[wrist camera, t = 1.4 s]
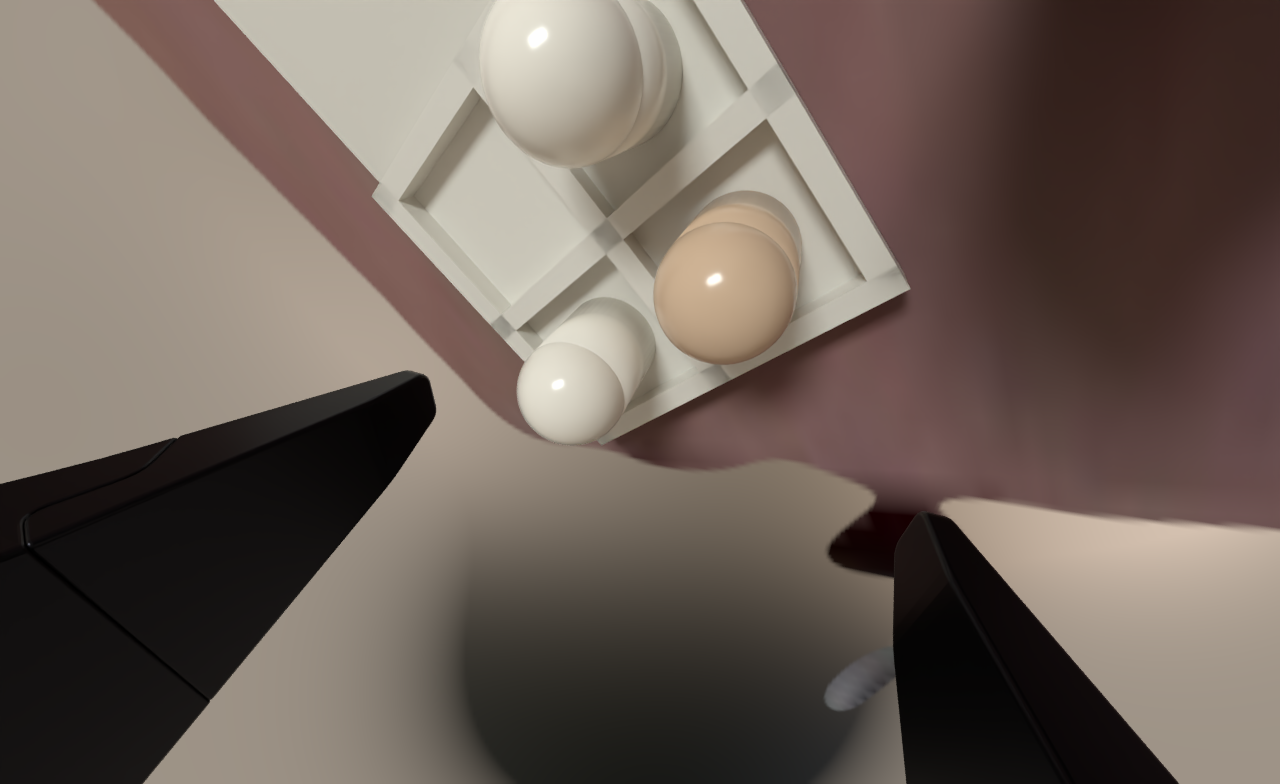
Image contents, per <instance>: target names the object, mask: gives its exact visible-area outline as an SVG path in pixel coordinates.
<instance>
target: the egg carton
mask: <svg viewBox="0 0 1280 784" xmlns="http://www.w3.org/2000/svg"><path fill="white" fill-rule="evenodd" d="M214 1H215V2H216V3H217V4H218V5H219V7H220V8H221V9H222V10H223V11H224V12H225V13H226V14H227V15H228V16H229V18H230V19H231V20H232V21H233V22H234V23H235V24H236V25H237V26H238V27H239V29H240V30H241V31H242V32H243V33H244V34H245V35H246V36H247V37H248V38H249V40H250V41H251V42H252V43H253V44H254V45H255V46H256V47H257V48H258V49H259V51H260V52H261V53H262V54H263V55H264V56H265V57H266V58H267V59H268V60H269V61H270V63H271V64H272V65H273V66H274V67H275V68H276V69H277V70H278V71H279V72H280V74H281V75H282V76H283V77H284V78H285V79H286V80H287V81H288V82H289V83H290V85H291V86H292V87H293V88H294V89H295V90H296V91H297V92H298V93H299V94H300V96H301V97H302V98H303V99H304V100H305V101H306V102H307V103H308V104H309V105H310V107H311V108H312V109H313V110H314V111H315V112H316V113H317V114H318V115H319V116H320V118H321V119H322V120H323V121H324V122H325V123H326V124H327V125H328V126H329V127H330V129H331V130H332V131H333V132H334V133H335V134H336V135H337V136H338V137H339V138H340V140H341V141H342V142H343V143H344V144H345V145H346V146H347V147H348V148H349V149H350V150H351V152H352V153H353V154H354V155H355V156H356V157H357V158H358V159H359V160H360V161H361V163H362V164H363V165H364V166H365V167H366V168H367V169H368V170H369V171H370V172H371V174H372V175H373V176H374V177H375V178H376V179H377V180H378V181H379V182H380V183H379V185H378V187H377V188H376V190H375V191H374V193H373V195H372V197H373V198H374V200H375V201H376V202H377V203H378V204H379V205H380V206H381V207H382V208H383V209H384V210H385V211H386V213H387V214H388V215H389V216H390V217H391V218H392V219H393V220H394V221H395V222H396V223H397V224H398V226H399V227H400V228H401V229H402V230H403V231H404V232H405V233H406V234H407V235H408V236H409V237H410V238H411V240H412V241H413V242H414V243H415V244H416V245H417V246H418V247H419V248H420V249H421V250H422V251H423V253H424V254H425V255H426V256H427V257H428V258H429V259H430V260H431V261H432V262H433V263H434V264H435V266H436V267H437V268H438V269H439V270H440V271H441V272H442V273H443V274H444V275H445V276H446V277H447V279H448V280H449V281H450V282H451V283H452V284H453V285H454V286H455V287H456V288H457V289H458V290H459V291H460V293H461V294H462V295H463V296H464V297H465V298H466V299H467V300H468V301H469V302H470V303H471V304H472V306H473V307H474V308H475V309H476V310H477V311H478V312H479V313H480V314H481V315H482V316H483V317H484V319H485V320H486V321H487V322H488V323H489V324H490V325H491V326H492V327H493V328H494V329H495V330H496V332H497V333H498V334H499V335H500V336H501V337H502V338H503V339H504V340H505V341H506V342H507V343H508V345H509V346H510V347H511V348H512V349H513V350H514V351H515V352H516V353H517V354H518V355H519V356H520V357H521V359H522V360H523V361H524V362H525V361H526V360H527V358H528V357H529V356H530V355H531V354H532V353H533V351H534V350H535V349H536V348H537V347H538V346H539V345H541V344H542V343H543V342H544V341H545V340H546V339H547V338H548V337H549V336H550V335H551V334H552V333H553V332H554V331H555V330H556V329H557V328H558V327H559V326H560V325H561V324H562V323H563V322H564V321H565V320H566V319H567V318H568V317H569V316H570V315H571V314H572V313H573V312H574V311H575V310H576V309H577V308H578V307H579V306H580V305H581V304H583V303H584V302H586V301H588V300H590V299H593V298H598V297H610V298H615V299H619V300H621V301H624V302H626V303H628V304H630V305H631V306H633V307H634V308H635V309H637V310H638V311H639V312H640V313H641V314H642V315H643V316H644V317H645V319H646V320H647V321H648V323H649V325H650V326H651V328H652V331H653V333H654V337H655V342H656V351H655V356H654V359H653V361H652V363H651V365H650V367H649V369H648V370H647V372H646V374H645V376H644V377H643V379H642V381H641V383H640V384H639V386H638V388H637V390H636V391H635V393H634V395H633V397H632V398H631V400H630V402H629V404H628V405H627V407H626V409H625V411H624V412H623V414H622V416H621V418H620V419H619V421H618V422H617V423H616V425H615V426H614V427H613V428H612V429H611V430H610V431H609V432H608V433H607V434H605V435H604V436H602V437H601V438H599V439H597V441H598V442H599V443H600V444H601V445H603V444H605V443H607V442H609V441H611V440H613V439H615V438H617V437H619V436H621V435H623V434H625V433H627V432H629V431H631V430H633V429H635V428H637V427H639V426H641V425H643V424H645V423H647V422H649V421H651V420H653V419H655V418H657V417H659V416H661V415H663V414H665V413H667V412H668V411H670V410H672V409H674V408H676V407H678V406H680V405H682V404H684V403H686V402H688V401H690V400H692V399H694V398H696V397H698V396H700V395H702V394H704V393H706V392H708V391H710V390H712V389H714V388H716V387H718V386H720V385H722V384H724V383H726V382H728V381H730V380H732V379H734V378H736V377H738V376H740V375H742V374H744V373H745V372H747V371H749V370H751V369H753V368H755V367H757V366H759V365H761V364H763V363H765V362H767V361H769V360H771V359H773V358H775V357H777V356H779V355H781V354H783V353H785V352H787V351H789V350H791V349H793V348H795V347H797V346H799V345H801V344H803V343H805V342H807V341H809V340H811V339H813V338H815V337H817V336H819V335H821V334H822V333H824V332H826V331H828V330H830V329H832V328H834V327H836V326H838V325H840V324H842V323H844V322H846V321H848V320H850V319H852V318H854V317H856V316H858V315H860V314H862V313H864V312H866V311H868V310H870V309H872V308H874V307H876V306H878V305H880V304H882V303H884V302H886V301H888V300H890V299H892V298H894V297H896V296H898V295H900V294H901V293H903V292H905V291H907V290H909V289H910V286H909V284H908V282H907V279H906V277H905V274H904V272H903V270H902V269H901V267H900V265H899V264H898V262H897V260H896V258H895V257H894V255H893V253H892V252H891V250H890V248H889V247H888V245H887V243H886V241H885V240H884V238H883V236H882V235H881V233H880V231H879V230H878V228H877V226H876V224H875V223H874V221H873V219H872V218H871V216H870V214H869V213H868V211H867V209H866V207H865V206H864V204H863V202H862V201H861V199H860V197H859V195H858V194H857V192H856V190H855V189H854V187H853V185H852V184H851V182H850V180H849V178H848V177H847V175H846V173H845V172H844V170H843V168H842V167H841V165H840V163H839V161H838V160H837V158H836V156H835V155H834V153H833V151H832V150H831V148H830V146H829V144H828V143H827V141H826V139H825V138H824V136H823V134H822V133H821V131H820V129H819V127H818V126H817V124H816V122H815V121H814V119H813V117H812V115H811V114H810V112H809V110H808V109H807V107H806V105H805V104H804V102H803V100H802V98H801V97H800V95H799V93H798V92H797V90H796V88H795V87H794V85H793V83H792V81H791V80H790V78H789V76H788V75H787V73H786V71H785V70H784V68H783V66H782V64H781V63H780V61H779V59H778V58H777V56H776V54H775V53H774V51H773V49H772V47H771V46H770V44H769V42H768V41H767V39H766V37H765V35H764V34H763V32H762V30H761V29H760V27H759V25H758V24H757V22H756V20H755V18H754V17H753V15H752V13H751V12H750V10H749V8H748V7H747V5H746V3H745V1H744V0H648V1H650V2H651V3H653V4H654V5H655V6H656V7H657V8H658V9H659V10H660V11H661V12H662V13H663V14H664V16H665V17H666V18H667V20H668V21H669V23H670V25H671V26H672V28H673V30H674V33H675V35H676V37H677V40H678V44H679V47H680V52H681V57H682V67H683V76H682V86H681V92H680V96H679V100H678V103H677V106H676V108H675V110H674V112H673V115H672V117H671V118H670V120H669V121H668V123H667V124H666V125H665V127H664V128H663V129H662V130H661V131H660V132H659V133H658V134H657V135H656V136H655V137H653V138H652V139H650V140H649V141H647V142H645V143H643V144H641V145H639V146H636V147H634V148H632V149H629V150H627V151H625V152H622V153H620V154H618V155H615V156H613V157H611V158H608V159H606V160H604V161H601V162H599V163H596V164H593V165H590V166H587V167H582V168H559V167H553V166H550V165H547V164H544V163H542V162H540V161H538V160H535V159H533V158H531V157H530V156H528V155H527V154H525V153H524V152H523V151H521V150H520V149H519V148H518V147H517V146H516V145H515V144H513V142H512V141H511V140H510V139H509V138H508V137H507V136H506V135H505V134H504V132H503V131H502V130H501V128H500V127H499V125H498V124H497V122H496V120H495V119H494V117H493V115H492V113H491V111H490V109H489V106H488V104H487V101H486V98H485V95H484V91H483V88H482V83H481V78H480V70H479V47H480V39H481V34H482V29H483V26H484V23H485V20H486V18H487V15H488V13H489V11H490V9H491V7H492V5H493V4H494V2H495V1H496V0H214ZM742 190H750V191H757V192H761V193H765V194H767V195H770V196H772V197H774V198H775V199H777V200H778V201H780V202H781V203H782V204H783V205H785V206H786V207H787V208H788V210H789V211H790V212H791V213H792V215H793V216H794V218H795V220H796V222H797V224H798V226H799V229H800V233H801V238H802V254H801V264H800V274H799V284H798V294H797V301H796V306H795V310H794V313H793V316H792V319H791V321H790V323H789V325H788V327H787V328H786V330H785V331H784V333H783V334H782V336H781V337H780V338H779V339H778V340H777V341H776V343H775V344H773V345H772V346H771V347H770V348H769V349H767V350H766V351H765V352H763V353H762V354H760V355H758V356H756V357H754V358H752V359H750V360H747V361H744V362H741V363H736V364H729V365H716V364H709V363H705V362H701V361H698V360H696V359H693V358H691V357H689V356H687V355H686V354H684V353H683V352H681V351H680V350H679V349H678V348H676V347H675V346H674V345H673V344H672V343H671V342H670V340H669V339H668V338H667V337H666V335H665V334H664V332H663V330H662V328H661V327H660V324H659V322H658V320H657V317H656V313H655V309H654V302H653V288H654V281H655V277H656V273H657V270H658V267H659V265H660V263H661V261H662V259H663V257H664V256H665V254H666V252H667V251H668V250H669V248H670V247H671V246H672V245H673V243H674V242H675V241H676V240H677V239H678V237H679V236H680V235H681V234H682V233H683V231H684V230H685V229H686V228H687V227H688V226H689V224H690V223H691V222H692V221H693V220H694V218H695V217H696V216H697V215H698V214H699V212H700V211H701V210H702V209H703V208H704V207H705V206H706V205H707V204H709V203H710V202H711V201H713V200H714V199H716V198H718V197H720V196H722V195H724V194H727V193H730V192H734V191H742Z"/></svg>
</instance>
